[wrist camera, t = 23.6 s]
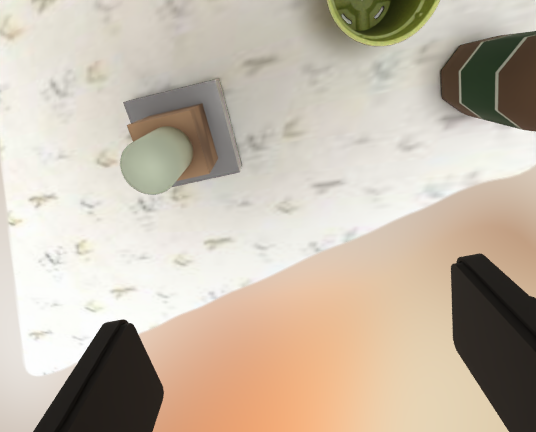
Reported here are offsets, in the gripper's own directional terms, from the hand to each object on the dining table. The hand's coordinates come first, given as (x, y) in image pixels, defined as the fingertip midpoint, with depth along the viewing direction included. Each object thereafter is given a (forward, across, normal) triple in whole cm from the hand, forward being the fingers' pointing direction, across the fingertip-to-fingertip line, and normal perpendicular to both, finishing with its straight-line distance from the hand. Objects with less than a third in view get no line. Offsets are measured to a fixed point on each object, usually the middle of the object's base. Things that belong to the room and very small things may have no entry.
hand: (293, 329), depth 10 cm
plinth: (+33, +10, -2) cm, 35 cm away
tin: (+24, +10, -2) cm, 26 cm away
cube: (+30, +10, -2) cm, 32 cm away
